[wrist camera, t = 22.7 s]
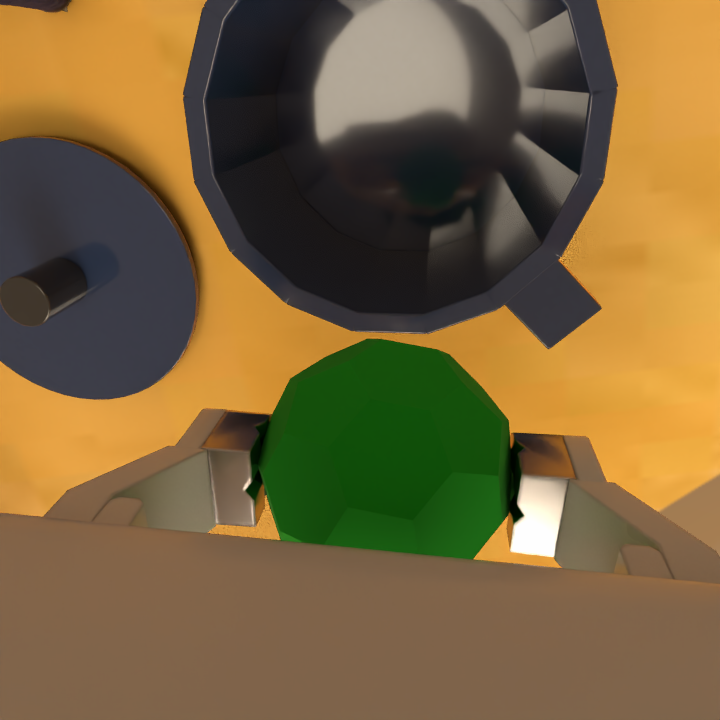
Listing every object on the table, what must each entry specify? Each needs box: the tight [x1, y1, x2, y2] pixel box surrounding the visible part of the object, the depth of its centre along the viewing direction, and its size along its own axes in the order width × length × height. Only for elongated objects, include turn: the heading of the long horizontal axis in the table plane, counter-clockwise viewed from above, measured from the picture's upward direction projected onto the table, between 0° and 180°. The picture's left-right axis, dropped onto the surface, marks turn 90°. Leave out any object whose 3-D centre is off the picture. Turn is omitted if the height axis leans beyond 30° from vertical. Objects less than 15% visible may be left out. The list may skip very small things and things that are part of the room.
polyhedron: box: [258, 339, 512, 559], centre depth 12 cm, size 5×5×5 cm
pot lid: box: [0, 136, 199, 399], centre depth 31 cm, size 15×15×5 cm
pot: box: [183, 0, 618, 349], centre depth 23 cm, size 14×19×10 cm
